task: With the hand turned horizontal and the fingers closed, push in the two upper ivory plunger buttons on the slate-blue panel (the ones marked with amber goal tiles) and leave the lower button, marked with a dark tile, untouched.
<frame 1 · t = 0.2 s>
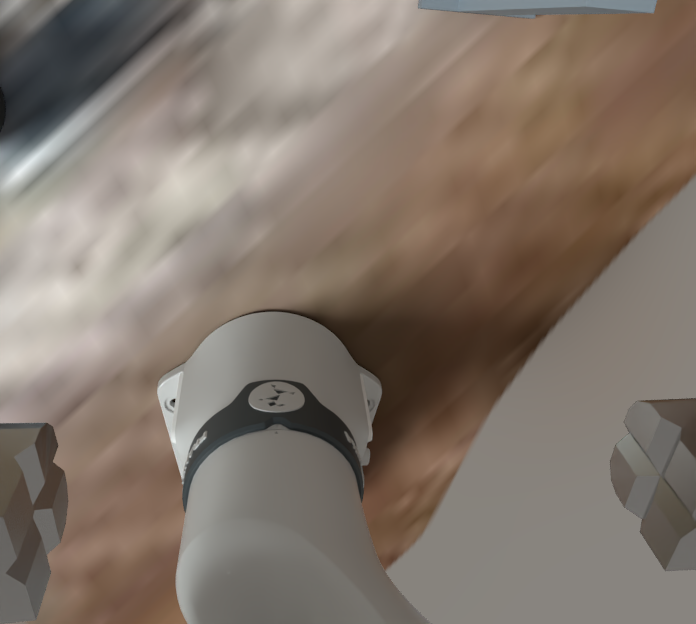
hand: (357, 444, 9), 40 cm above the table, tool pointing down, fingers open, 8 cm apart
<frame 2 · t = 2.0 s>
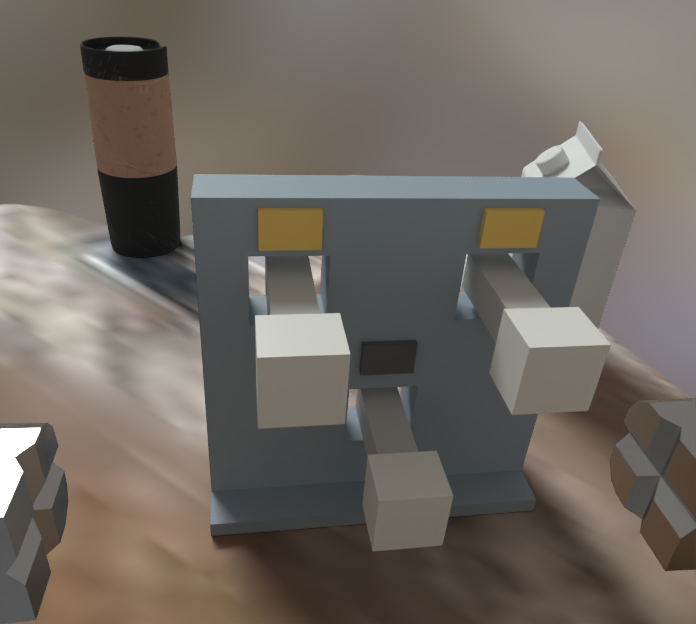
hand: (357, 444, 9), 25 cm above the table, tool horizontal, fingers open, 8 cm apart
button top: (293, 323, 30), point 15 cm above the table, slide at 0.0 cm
milk carton: (532, 352, 56), on the table
travel mug: (146, 244, 69), on the table
panel: (367, 473, 42), on the table
button bottom: (390, 450, 35), point 7 cm above the table, slide at 0.0 cm
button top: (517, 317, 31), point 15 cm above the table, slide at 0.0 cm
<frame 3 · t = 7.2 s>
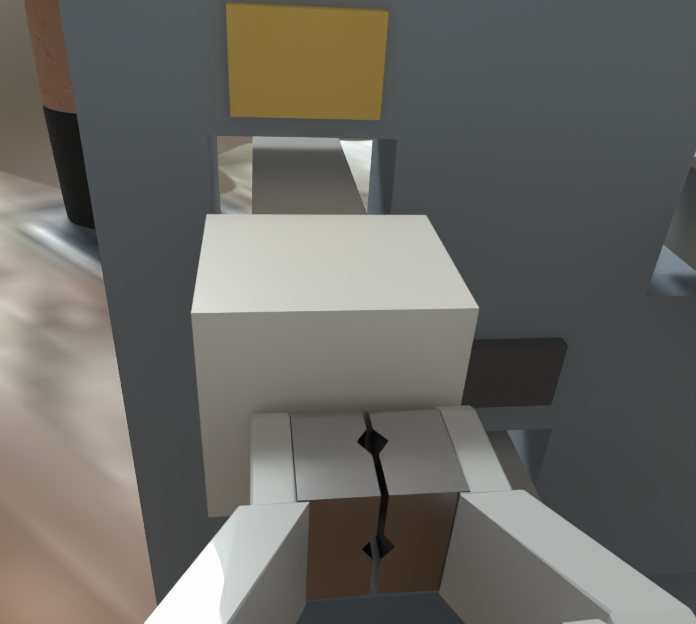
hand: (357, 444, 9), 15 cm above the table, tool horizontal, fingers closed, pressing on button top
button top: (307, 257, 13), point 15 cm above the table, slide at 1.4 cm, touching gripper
travel mug: (114, 213, 51), on the table
panel: (437, 572, 24), on the table
button bottom: (509, 564, 17), point 6 cm above the table, slide at 0.0 cm
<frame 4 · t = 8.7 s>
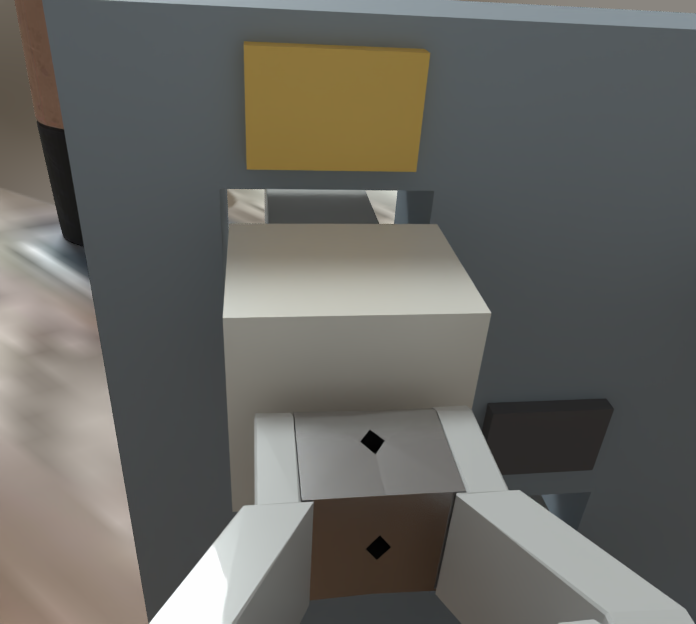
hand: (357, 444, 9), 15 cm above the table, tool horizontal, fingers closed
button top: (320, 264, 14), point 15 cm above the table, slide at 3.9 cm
travel mug: (111, 230, 50), on the table
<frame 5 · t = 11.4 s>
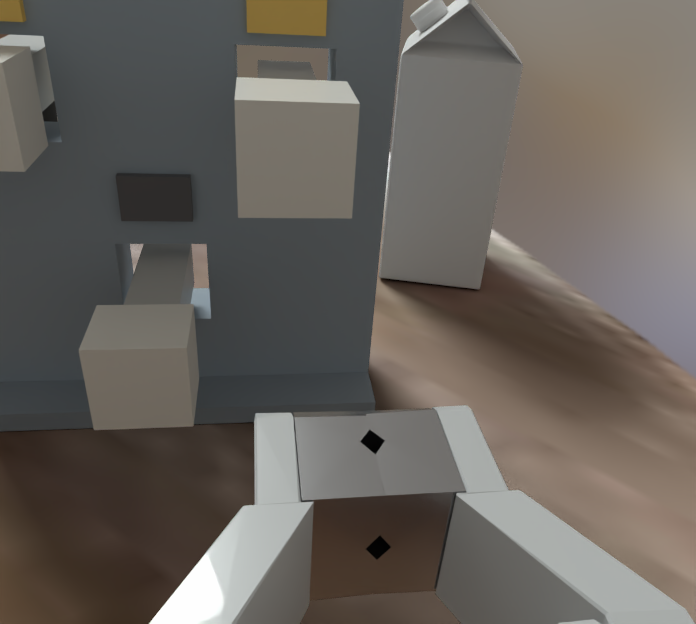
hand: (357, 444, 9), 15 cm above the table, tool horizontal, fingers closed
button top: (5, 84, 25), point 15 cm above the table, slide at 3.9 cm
milk carton: (429, 266, 48), on the table
panel: (178, 375, 34), on the table
button bottom: (156, 316, 27), point 6 cm above the table, slide at 0.0 cm
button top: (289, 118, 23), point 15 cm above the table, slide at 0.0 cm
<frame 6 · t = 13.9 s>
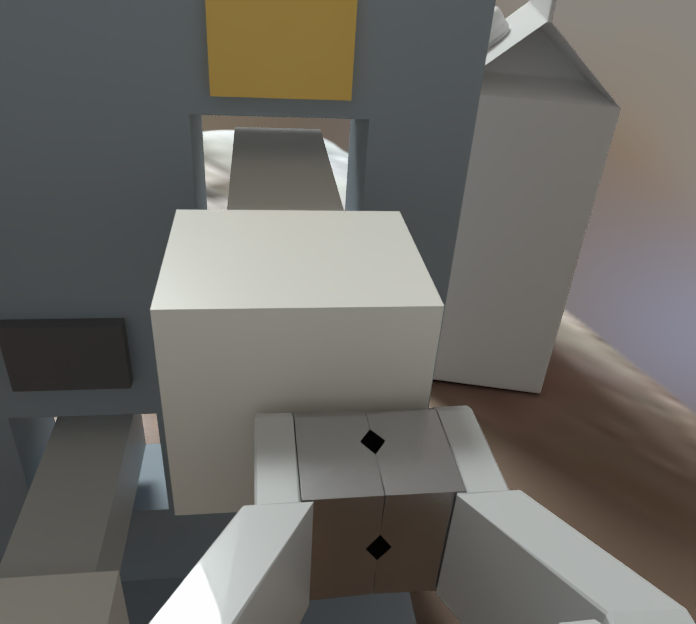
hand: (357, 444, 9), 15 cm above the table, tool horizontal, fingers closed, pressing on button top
milk carton: (470, 353, 37), on the table
panel: (128, 562, 24), on the table
button bottom: (69, 552, 17), point 6 cm above the table, slide at 0.0 cm
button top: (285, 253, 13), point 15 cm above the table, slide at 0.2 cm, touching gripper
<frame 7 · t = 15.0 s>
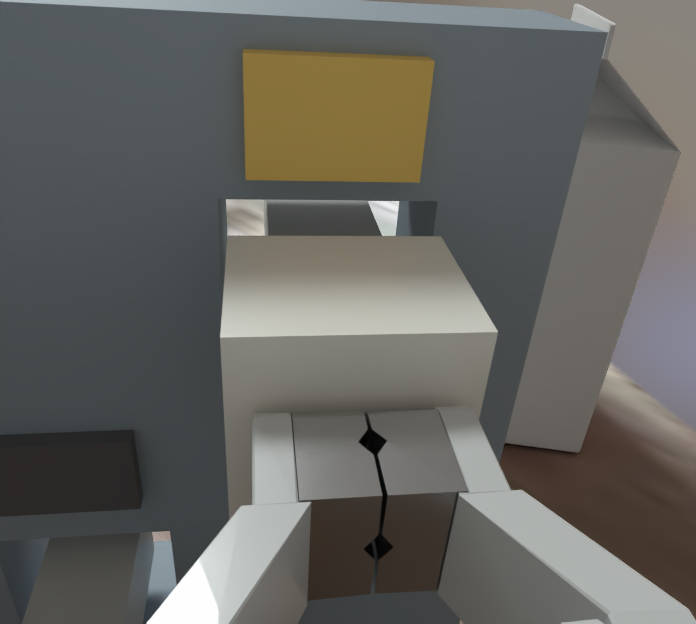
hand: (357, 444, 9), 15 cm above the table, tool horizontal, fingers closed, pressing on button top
milk carton: (499, 404, 34), on the table
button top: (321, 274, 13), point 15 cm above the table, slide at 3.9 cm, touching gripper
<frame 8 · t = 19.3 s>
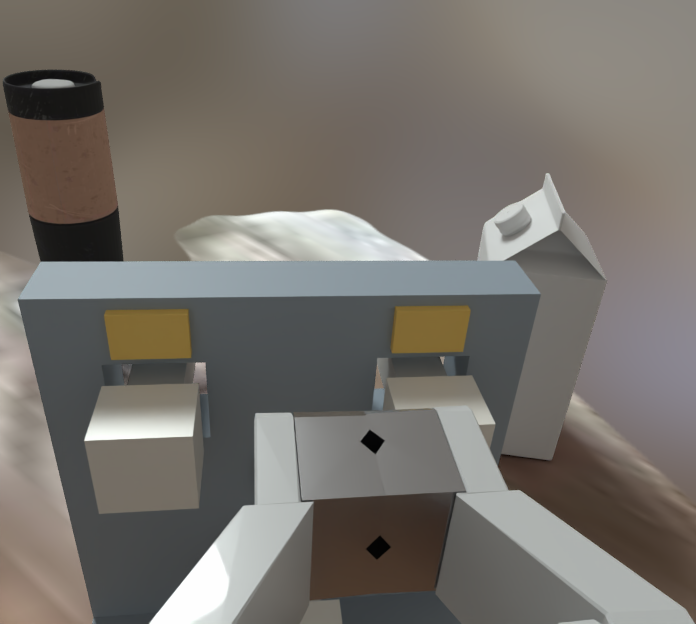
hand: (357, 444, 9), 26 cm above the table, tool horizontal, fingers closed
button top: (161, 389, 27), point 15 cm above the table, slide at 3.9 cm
milk carton: (498, 426, 50), on the table
travel mug: (88, 291, 63), on the table
panel: (286, 589, 36), on the table
button bottom: (292, 587, 29), point 6 cm above the table, slide at 0.0 cm
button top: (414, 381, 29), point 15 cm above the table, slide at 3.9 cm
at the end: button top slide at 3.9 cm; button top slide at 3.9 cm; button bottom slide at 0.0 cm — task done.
